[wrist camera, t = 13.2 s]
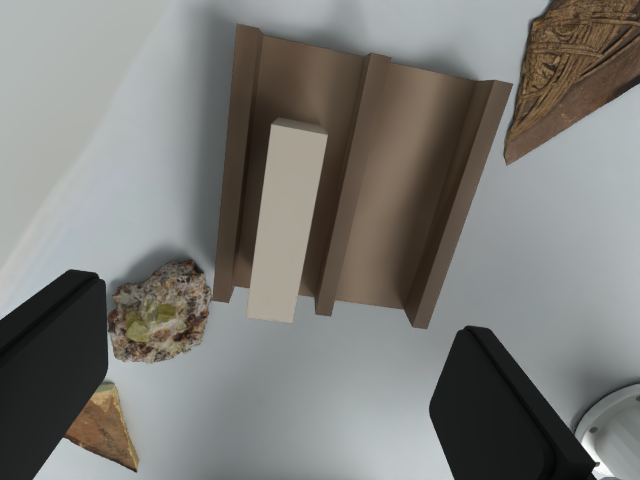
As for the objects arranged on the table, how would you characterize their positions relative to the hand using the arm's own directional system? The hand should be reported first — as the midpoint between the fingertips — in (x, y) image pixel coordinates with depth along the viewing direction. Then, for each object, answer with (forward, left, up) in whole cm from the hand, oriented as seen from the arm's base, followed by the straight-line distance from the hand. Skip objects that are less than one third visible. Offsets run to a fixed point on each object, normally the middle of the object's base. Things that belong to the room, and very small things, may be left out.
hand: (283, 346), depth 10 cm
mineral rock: (+9, +13, -20) cm, 25 cm away
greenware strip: (0, +1, -18) cm, 18 cm away
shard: (+14, +26, -20) cm, 36 cm away
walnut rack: (-4, 0, -19) cm, 19 cm away
